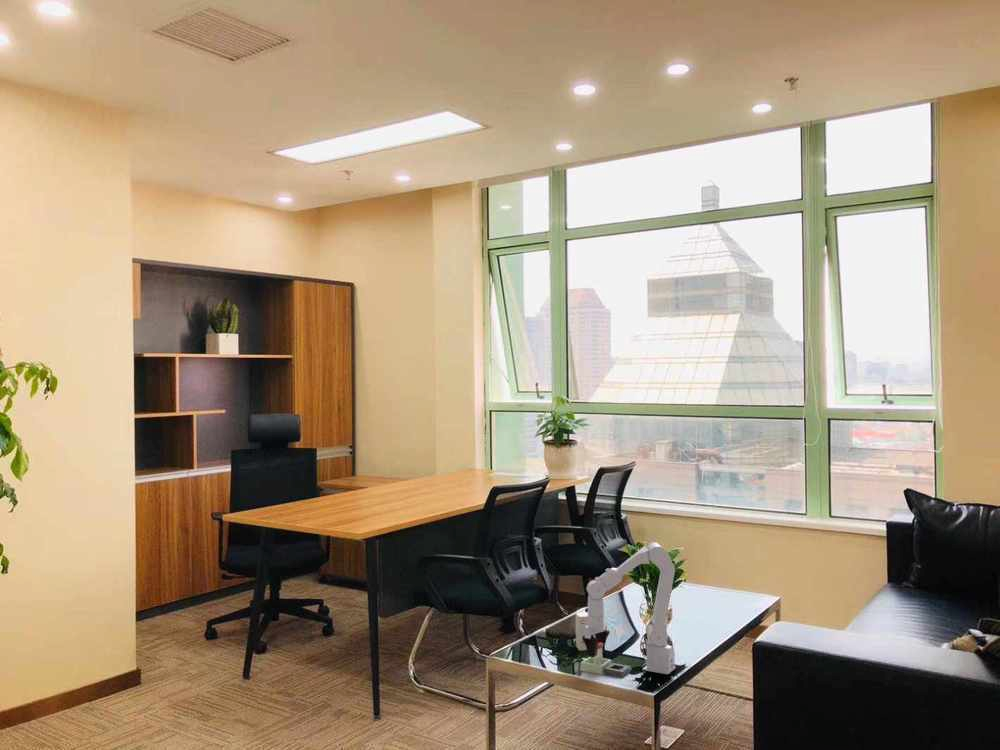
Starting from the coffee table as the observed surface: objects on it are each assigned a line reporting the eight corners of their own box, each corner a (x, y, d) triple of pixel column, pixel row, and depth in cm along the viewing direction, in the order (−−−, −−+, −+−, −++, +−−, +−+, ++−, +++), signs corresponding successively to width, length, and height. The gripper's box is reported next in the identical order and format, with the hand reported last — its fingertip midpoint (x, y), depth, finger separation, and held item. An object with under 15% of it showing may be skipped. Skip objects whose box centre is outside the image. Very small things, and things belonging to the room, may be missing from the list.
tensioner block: (630, 671, 288) (630, 666, 288) (622, 677, 282) (622, 671, 282) (612, 668, 292) (612, 662, 292) (603, 674, 286) (603, 668, 286)
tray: (611, 667, 292) (611, 659, 292) (601, 674, 286) (601, 666, 286) (591, 664, 297) (590, 656, 297) (581, 670, 290) (581, 662, 290)
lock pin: (605, 667, 291) (604, 642, 291) (600, 671, 288) (600, 645, 288) (595, 666, 293) (594, 640, 294) (590, 669, 290) (589, 643, 290)
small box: (596, 645, 320) (595, 611, 320) (599, 650, 313) (599, 615, 314) (575, 645, 319) (575, 612, 319) (578, 650, 312) (578, 616, 313)
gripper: (594, 609, 300) (594, 646, 299) (576, 618, 288) (577, 657, 287) (612, 611, 296) (612, 649, 296) (594, 621, 284) (595, 660, 283)
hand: (596, 653), depth 291 cm, fingers open, 7 cm apart
